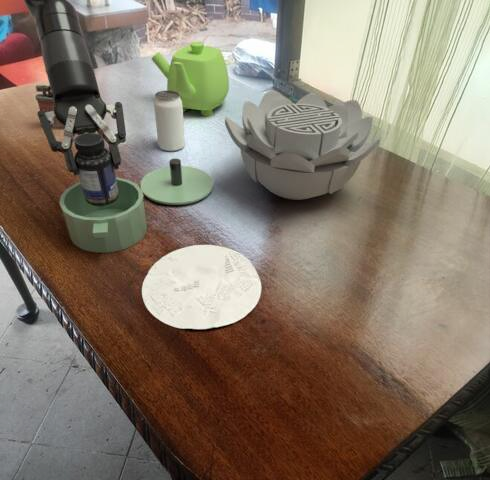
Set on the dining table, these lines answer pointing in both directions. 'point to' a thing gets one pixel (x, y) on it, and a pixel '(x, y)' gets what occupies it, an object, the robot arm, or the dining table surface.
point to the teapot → (196, 76)
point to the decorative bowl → (302, 143)
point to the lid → (176, 184)
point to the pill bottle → (95, 170)
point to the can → (169, 120)
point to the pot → (105, 218)
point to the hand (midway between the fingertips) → (96, 170)
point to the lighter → (47, 103)
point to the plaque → (201, 287)
